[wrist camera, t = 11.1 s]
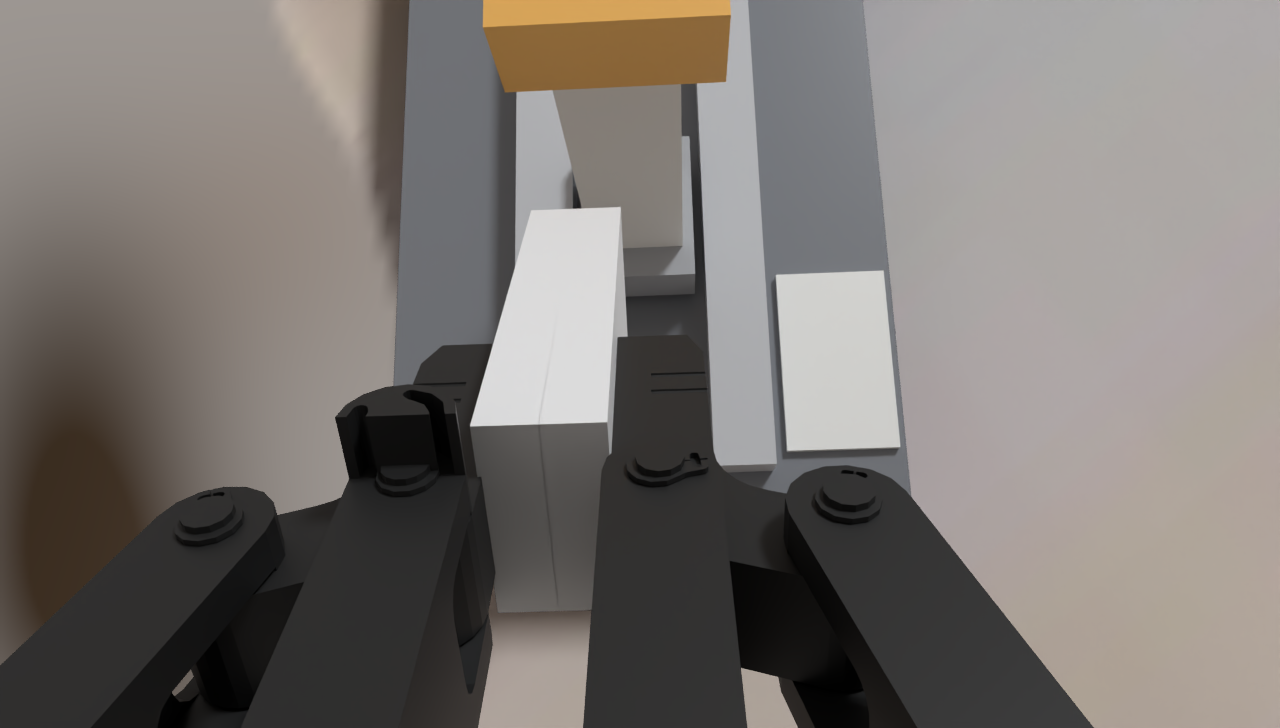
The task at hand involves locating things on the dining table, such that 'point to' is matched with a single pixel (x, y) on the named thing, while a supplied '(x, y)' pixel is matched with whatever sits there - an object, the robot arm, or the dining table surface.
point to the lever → (621, 110)
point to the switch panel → (722, 225)
